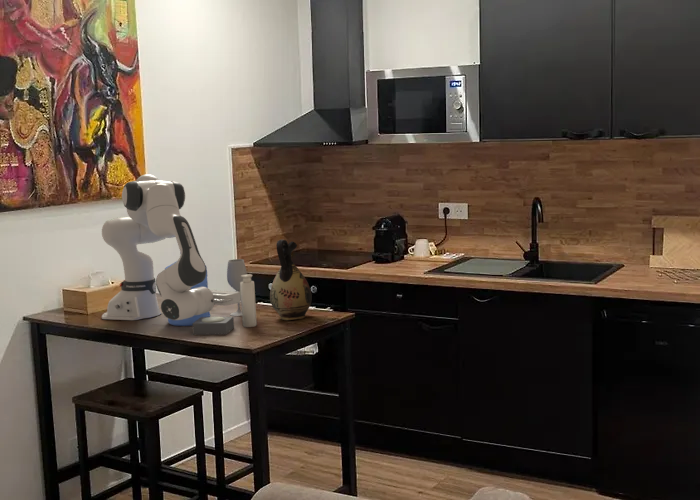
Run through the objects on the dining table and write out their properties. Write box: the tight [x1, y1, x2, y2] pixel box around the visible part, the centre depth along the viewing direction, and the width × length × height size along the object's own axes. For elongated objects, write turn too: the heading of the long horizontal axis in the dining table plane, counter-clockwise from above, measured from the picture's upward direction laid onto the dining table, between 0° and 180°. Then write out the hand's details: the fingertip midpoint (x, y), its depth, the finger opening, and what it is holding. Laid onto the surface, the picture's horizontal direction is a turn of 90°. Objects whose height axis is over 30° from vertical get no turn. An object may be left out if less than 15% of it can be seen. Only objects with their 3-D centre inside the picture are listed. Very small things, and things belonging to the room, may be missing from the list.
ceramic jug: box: [269, 239, 313, 321], centre depth 329 cm, size 17×15×30 cm
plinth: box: [192, 316, 235, 335], centre depth 316 cm, size 12×10×4 cm
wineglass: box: [226, 258, 248, 317], centre depth 340 cm, size 8×8×21 cm
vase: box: [240, 273, 257, 328], centre depth 321 cm, size 5×5×18 cm
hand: (226, 292), depth 309 cm, fingers open, 8 cm apart
